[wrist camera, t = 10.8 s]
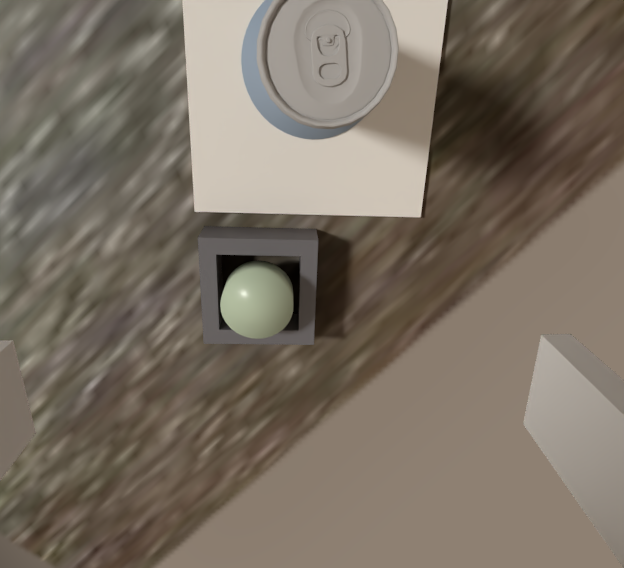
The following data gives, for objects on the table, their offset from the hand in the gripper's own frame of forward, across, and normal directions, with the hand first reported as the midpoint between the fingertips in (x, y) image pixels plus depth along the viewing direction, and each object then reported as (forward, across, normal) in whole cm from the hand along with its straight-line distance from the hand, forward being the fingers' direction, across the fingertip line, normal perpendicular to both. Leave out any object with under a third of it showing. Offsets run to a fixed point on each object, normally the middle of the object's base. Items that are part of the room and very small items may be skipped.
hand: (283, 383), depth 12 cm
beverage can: (+19, +1, +8) cm, 21 cm away
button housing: (+19, -2, -4) cm, 20 cm away
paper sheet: (+19, +2, +8) cm, 21 cm away
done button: (+17, -2, -5) cm, 18 cm away
